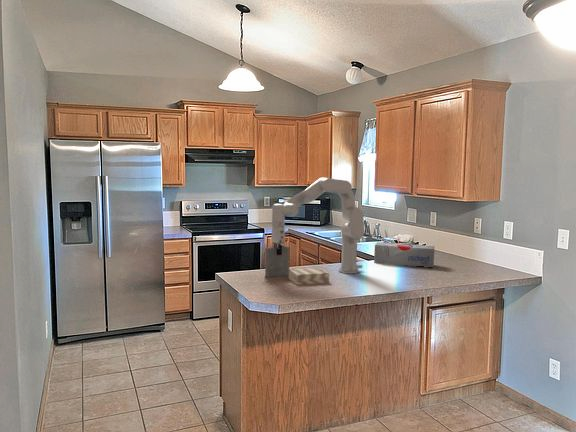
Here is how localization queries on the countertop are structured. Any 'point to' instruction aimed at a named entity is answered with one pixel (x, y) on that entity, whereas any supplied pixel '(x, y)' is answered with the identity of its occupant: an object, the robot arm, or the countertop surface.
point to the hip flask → (277, 261)
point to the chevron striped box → (308, 276)
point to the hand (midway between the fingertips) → (277, 254)
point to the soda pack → (404, 254)
